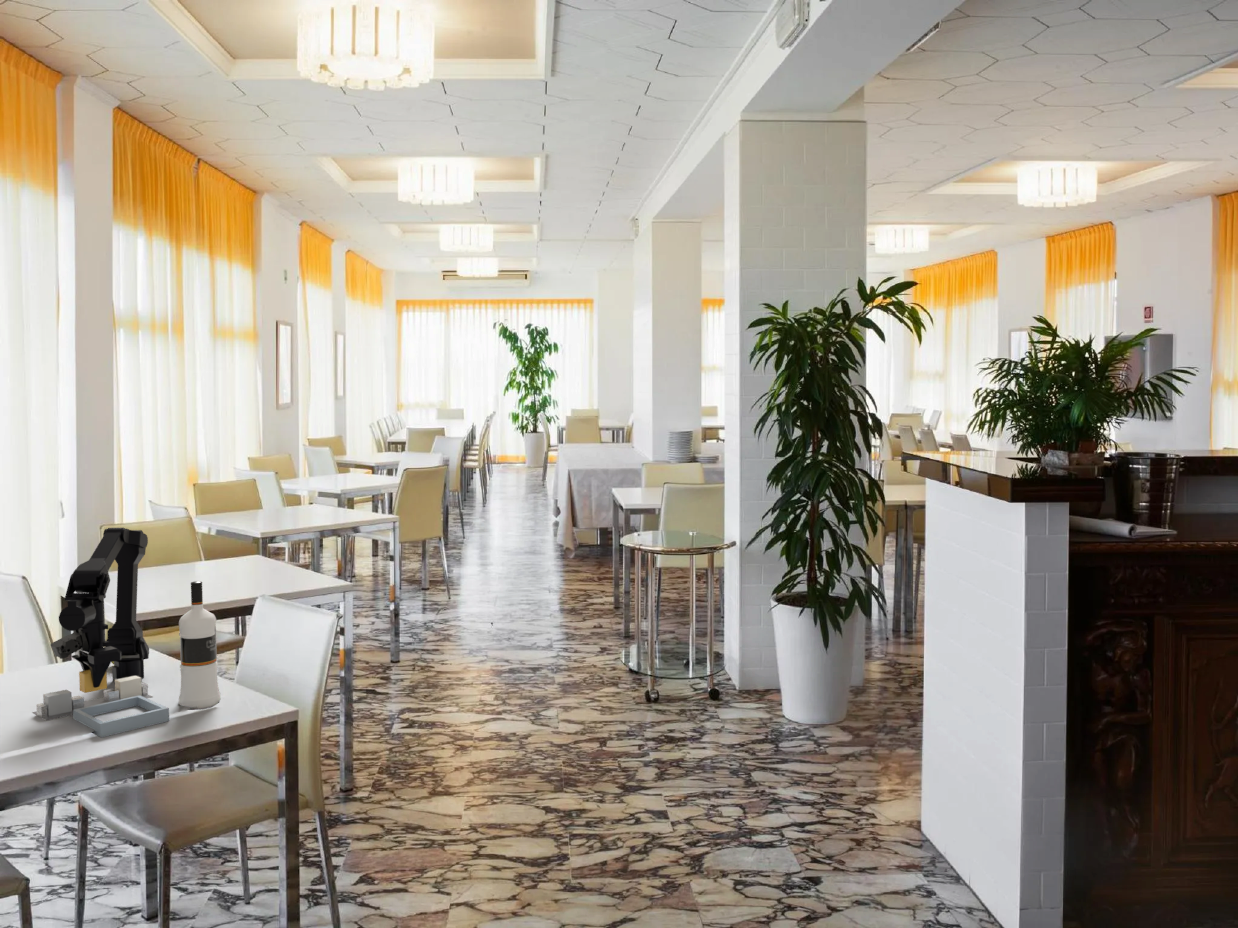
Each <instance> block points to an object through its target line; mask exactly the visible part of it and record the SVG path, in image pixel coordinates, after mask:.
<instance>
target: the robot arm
mask: <svg viewBox="0 0 1238 928" xmlns="http://www.w3.org/2000/svg"><path fill="white" fill-rule="evenodd" d="M102 535H103V536H102V538H101V539H100V541H99V542H98V544H97V546H96V548H95V549H94V551H93V553H92V554H91V556H90V558H89V559H88V560H86V561H84V562H82V563H80V564H79V565H78V566H76V568H75V570H74V571H73V572H72V574H71V575H70V577H69V580H68V584H67V588H66V592H65V597H64V601H66V602H67V606H65V607H64V608H63V609H62V610H61V611H60V613H59V615H58V622H59V624H60V626H61V627H62V628H63V629H64V630H66V631H69V632H70V631H71V632H72V633H70V634H66V635H65V636H63V637H61V638H60V639H57V640H55V641H54V642H51V643H50V647H51V649H52V650H51V651H52V652H53V653H54V656H55V657H56V658H59V659H61V660H63V659H66V658H68V657H69V656H70V655H71V658H72V659H73V660H74V661H77V662H78V663H79V664H80V666H81V669H82V671H86V670H90V672H91V677H92V683H93V687H94V688H96V687H99V686H100V683H101V681H102V679H103V677H104V675H105V673H106V671H108V669H109V667H110V665H111V664H112V662H113V661H114V664H113V665H112V667H111V669H112V670H111V671H112V673H111V675H112V676H111V677H112V682H114V683H115V680H116V679H121V678H126V677H131V676H138V677H141V679H144V678H145V668H144V667H145V665H144V664H145V663H144V660H148V659H149V656H150V655H149V654H150V647H149V645H148V643H147V641H146V640H145V638H144V636H143V635H144V633H143V632H144V631H143V629H142V628H141V626H140V624H139V622H138V621H137V611H138V610H137V609H138V608H137V607H138V605H137V604H138V603H137V602H138V601H137V600H138V578H139V577H138V575H139V574H138V573H139V564H140V562H141V561H142V559H143V558H144V556H145V555H146V551H147V550H146V548H147V547H148V544H149V539H148V538H149V537H148V535H147V534H146V533H144V532H143V530H141V529H138V530H137V529H135V530H134V529H133V530H132V529H129V528H125V527H108V528H105V529H104V531H103V534H102ZM114 561H115V563H116V564H117V576H116V578H117V579H116V580H117V581H116V583H117V584H116V606H115V609H116V610H115V622H114V623H113V625H112V626H111V627H109V624H107V623H106V621H105V620H106V618H105V599H106V597H107V595H106V594H107V591H108V588H109V586H110V582H111V578H110V574H109V571H110V568H111V567H112V565H113V563H114ZM106 630H107V638H106Z"/></svg>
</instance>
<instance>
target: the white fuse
mask: <svg viewBox="0 0 1238 928" xmlns="http://www.w3.org/2000/svg"><path fill="white" fill-rule="evenodd" d="M141 682H142V678H141V677H138V676H131V677H126V678H121V679H116V680H115V682H114V688H115V689H117V690H119V700H121V699H125V698H130V697H134V696H139V695H140V696H142V689H141Z"/></svg>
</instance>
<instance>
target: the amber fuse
mask: <svg viewBox="0 0 1238 928" xmlns="http://www.w3.org/2000/svg"><path fill="white" fill-rule="evenodd" d="M107 671H108V670H107ZM107 671H106V673H105V675H104V677H103V679H102V681H101V683H100V686H99V687H96V688H94V687H93V683H92V677H91V672H90V670H86V671H83V670H82V671H78V674H79V675H78V677H79V680H78V682H79V692H80V691H81V692H82V693H84V694H86V693H87V694H88V693H92V692H97V691H101V690H102V691H103V690H107V689H108V678H107V677H108V676H107V675H108V674H107Z"/></svg>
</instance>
